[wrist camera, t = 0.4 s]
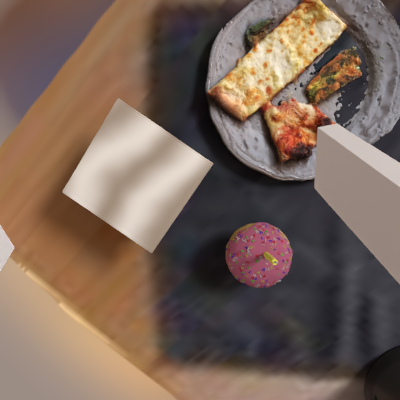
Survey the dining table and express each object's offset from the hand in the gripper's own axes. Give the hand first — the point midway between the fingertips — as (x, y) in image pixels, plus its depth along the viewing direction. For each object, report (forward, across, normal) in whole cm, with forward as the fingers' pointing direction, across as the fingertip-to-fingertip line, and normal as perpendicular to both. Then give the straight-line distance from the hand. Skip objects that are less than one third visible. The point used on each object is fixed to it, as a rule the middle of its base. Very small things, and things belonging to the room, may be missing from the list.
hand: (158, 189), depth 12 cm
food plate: (+30, -18, +5) cm, 35 cm away
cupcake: (+22, -9, +24) cm, 34 cm away
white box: (+29, +4, +13) cm, 32 cm away
